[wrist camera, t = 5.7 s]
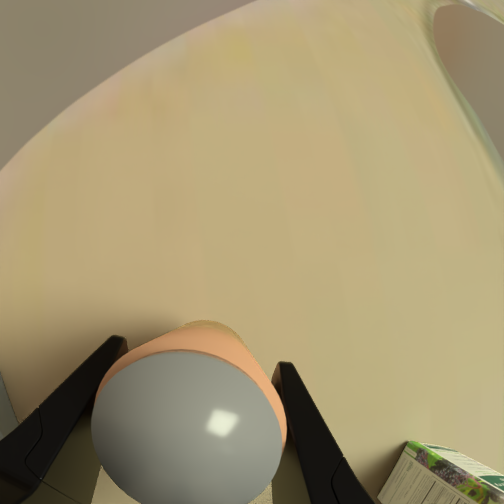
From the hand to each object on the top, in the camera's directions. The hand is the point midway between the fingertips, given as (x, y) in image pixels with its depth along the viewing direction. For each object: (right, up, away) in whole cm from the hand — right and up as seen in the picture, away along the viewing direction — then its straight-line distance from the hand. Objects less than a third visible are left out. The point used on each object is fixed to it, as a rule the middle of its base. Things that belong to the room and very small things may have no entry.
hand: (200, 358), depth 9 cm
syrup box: (+15, -15, +10) cm, 23 cm away
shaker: (-1, -2, +6) cm, 7 cm away
